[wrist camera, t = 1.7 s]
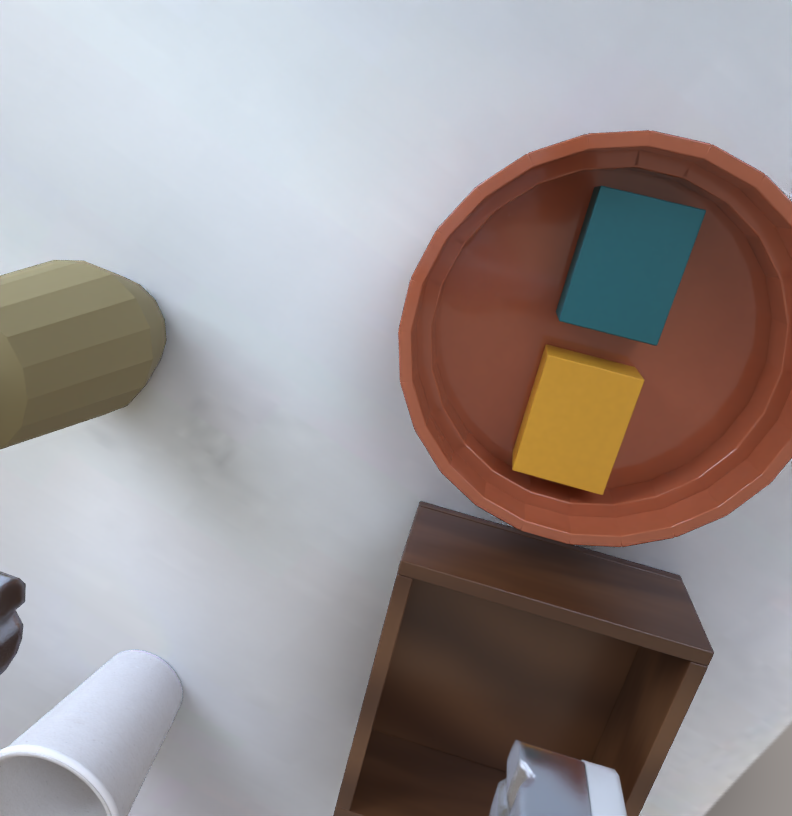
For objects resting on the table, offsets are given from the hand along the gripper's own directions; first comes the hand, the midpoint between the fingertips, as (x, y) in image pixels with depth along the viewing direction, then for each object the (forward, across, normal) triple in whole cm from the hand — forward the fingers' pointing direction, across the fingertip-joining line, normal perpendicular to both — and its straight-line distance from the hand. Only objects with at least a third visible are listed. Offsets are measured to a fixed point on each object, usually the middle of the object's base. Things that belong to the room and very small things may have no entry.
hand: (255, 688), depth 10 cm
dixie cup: (+26, +14, +27) cm, 40 cm away
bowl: (+26, -7, -3) cm, 27 cm away
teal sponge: (+25, -7, -7) cm, 27 cm away
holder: (+26, -8, +16) cm, 32 cm away
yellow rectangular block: (+25, -7, 0) cm, 26 cm away
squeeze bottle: (+26, +18, +3) cm, 31 cm away
